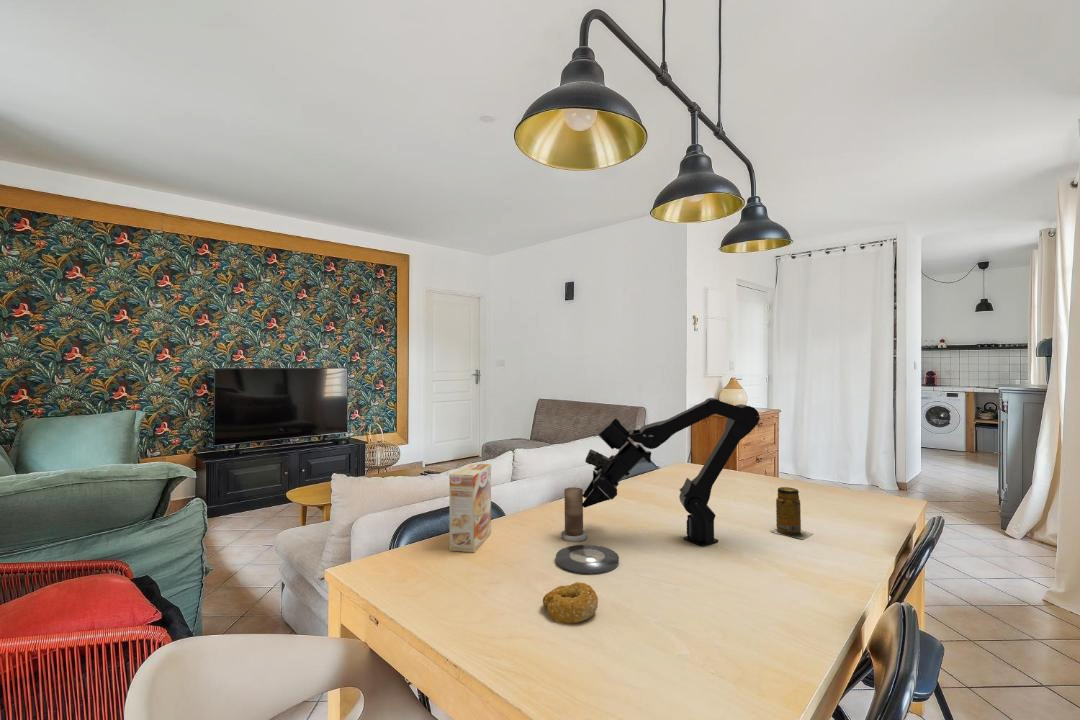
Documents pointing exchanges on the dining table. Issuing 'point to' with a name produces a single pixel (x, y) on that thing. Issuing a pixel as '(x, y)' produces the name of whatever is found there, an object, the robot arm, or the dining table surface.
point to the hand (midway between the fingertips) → (583, 501)
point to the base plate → (587, 559)
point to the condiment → (789, 513)
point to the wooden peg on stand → (573, 516)
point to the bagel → (571, 603)
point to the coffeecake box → (470, 507)
